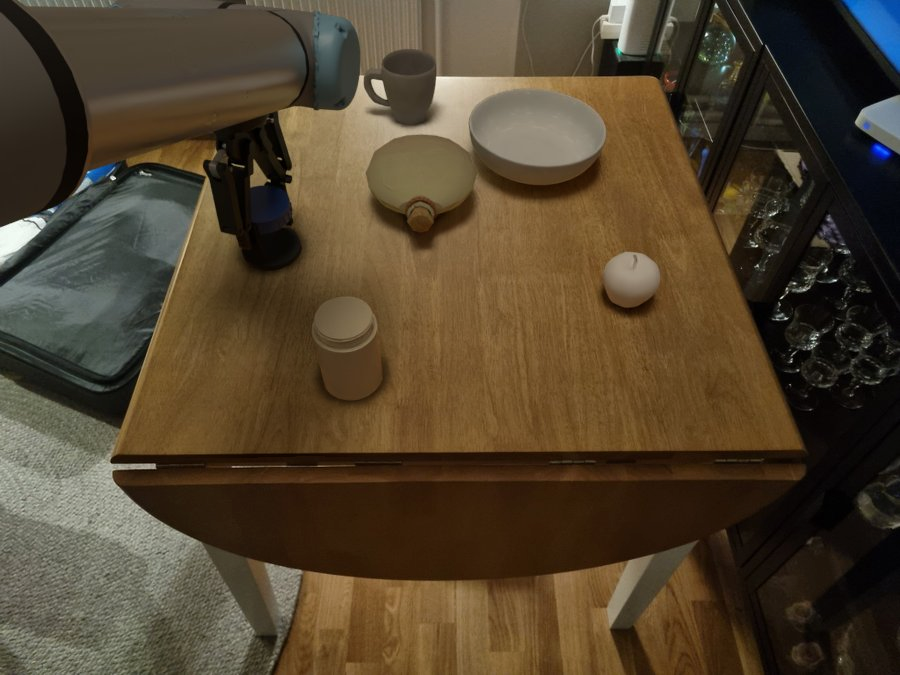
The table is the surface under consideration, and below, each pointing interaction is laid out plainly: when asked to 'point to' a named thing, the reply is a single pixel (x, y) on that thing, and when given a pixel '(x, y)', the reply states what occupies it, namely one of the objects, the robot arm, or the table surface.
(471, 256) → the table surface
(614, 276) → the apple
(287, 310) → the table surface
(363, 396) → the jar
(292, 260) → the coaster
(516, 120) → the serving bowl
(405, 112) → the mug
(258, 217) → the jar lid
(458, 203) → the flask
